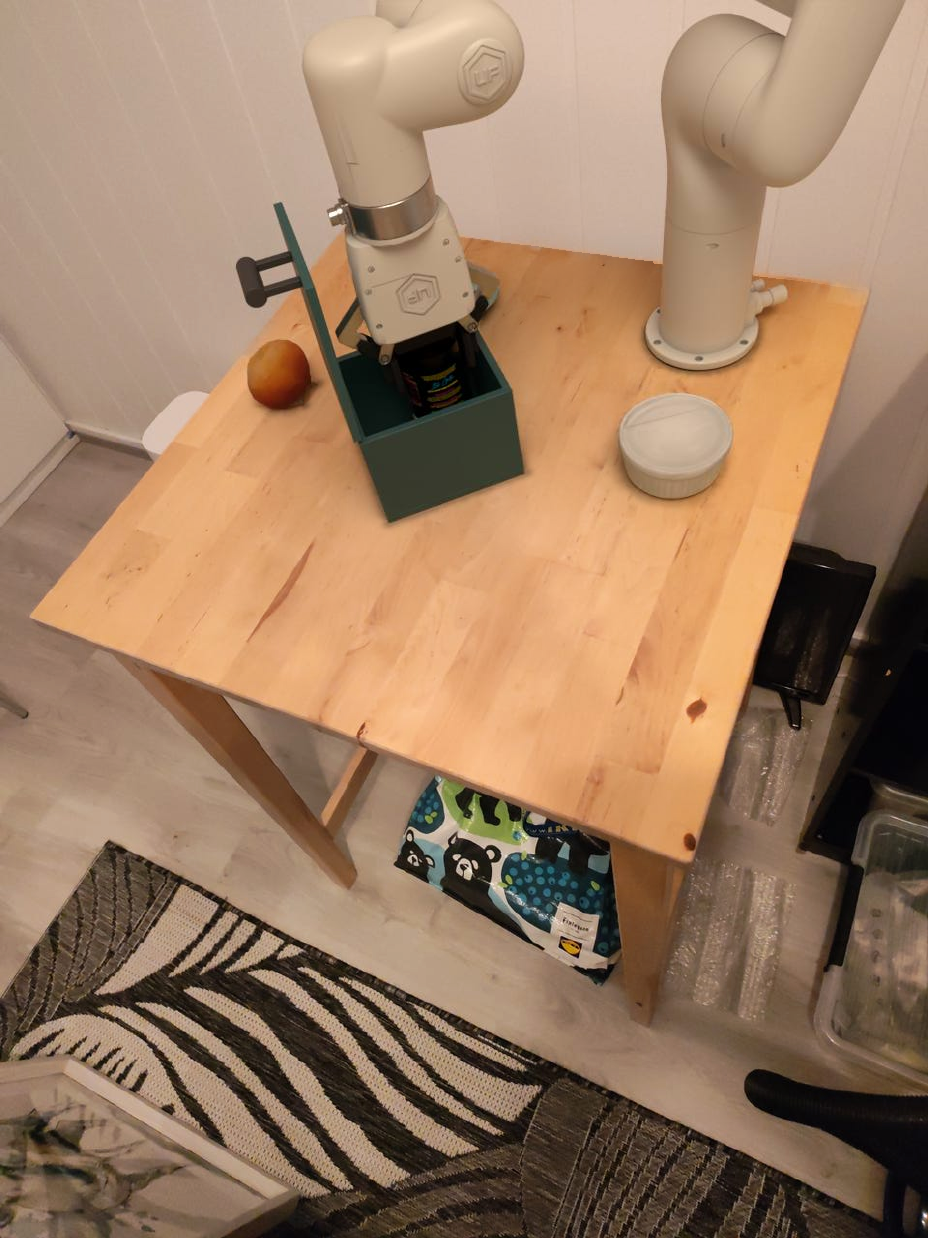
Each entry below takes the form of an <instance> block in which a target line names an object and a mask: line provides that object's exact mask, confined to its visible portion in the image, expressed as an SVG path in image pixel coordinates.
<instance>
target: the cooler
mask: <svg viewBox="0 0 928 1238" xmlns="http://www.w3.org/2000/svg"><path fill="white" fill-rule="evenodd" d="M475 334H476V339H477V344H478V350H479V352H477V353H475V354H474V357H475V362H476V367H473V368H471V367H468V365H467V363H466V366H467V371H468V375H469V380H470V385H471V390H472V394H473V399H470V400H467V401H465V402H462V403H459V404H456V405H454V406H451V407H448V408H445V409H442V410H440V411H437V412H434V413H431V414H429V415H426V416H423V417H420V418H418V419H415V420H414V417H413V414H412V411H411V408H410V404H409V401H408V398H407V394H406V391H405V393H403V394H400V393H399V391H398V388H397V386H396V384H395V383H394V384H391V385H389V384H388V381H387V379H386V376H385V373H384V370H383V367H382V364H380V362H379V360H377V359H374V358H371V357H369V356H366V355H363V354H361V353H359V351H358V350H356V349H355V350H354V351H351V352H348V353H346V354H343V355H342V354H341V355H340V356H336V357H337V360H338V364H339V367H340V370H341V373H342V377H343V380H344V383H345V387H346V390H347V393H348V396H349V400H350V403H351V406H352V409H353V413H354V416H355V419H356V422H357V426H358V429H359V432H360V436H361V439H362V441H359V442H357V443H358V446H359V448H360V452H361V454H362V457H363V459H364V461H365V464H366V466H367V469H368V472H369V474H370V477H371V480H372V483H373V485H374V488H375V490H376V493H377V496H378V499H379V501H380V504H381V507H382V509H383V512H384V514H385V517H386V520H387V522H388V524H390V523H393V522H396V521H398V520H402V519H405V518H407V517H410V516H413V515H415V514H418V513H421V512H424V511H426V510H429V509H433V508H434V507H437V506H439V505H442V504H445V503H448V502H450V501H453V500H456V499H459V498H462V497H464V496H467V495H470V494H472V493H475V492H477V491H480V490H483V489H486V488H489V487H491V486H494V485H497V484H499V483H503V482H505V481H508V480H510V479H514V478H516V477H519V476H522V475H524V474H525V468H524V463H523V454H522V448H521V440H520V433H519V426H518V419H517V413H516V404H515V398H514V390H513V388H512V387H511V385H510V384H509V381H508V379H507V378H506V376H505V375H504V373H503V372H502V368H501V367H500V366H499V364H498V362H497V360H496V358H495V356H494V355H493V354H492V351H491V349H490V348H489V346H488V344H487V343H486V341H485V339H484V338H483V336H482V334H481V332H480V330H479V327H478V328H477V330H476V331H475Z"/></svg>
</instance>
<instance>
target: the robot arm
mask: <svg viewBox="0 0 928 1238" xmlns="http://www.w3.org/2000/svg"><path fill="white" fill-rule="evenodd" d="M754 1H756V2H758V3H759V4H761V5H763V6H766V7H767V8H769V9H771V10H773V11H775V12H777V13H779V14H781V15H784V16H785V17H787V18H789V19H791V20H790V22H789V25H788V29H787V31H786V34H785V35H784V34H782V33H780V32H778V31H776V30H774V29H772V28H770V27H768V26H766V25H764V24H763V23H760V22H758V21H757V20H754V19H751V18H749V17H746V16H743V15H739V14H733V13H716V14H712V15H709V16H706V17H704V18H702V19H700V20H698V21H696V22H695V23H694V24H693V25H691V26H690V27H688V28H687V29H686V30H685V31H684V32H683V34H682V35H681V36H680V37H679V39H678V40H677V41H676V42H675V45H674V46H673V48H672V50H671V51H670V54H669V55H668V58H667V60H666V63H665V66H664V71H663V75H662V79H661V89H660V108H661V111H660V113H661V122H662V129H663V136H664V145H665V153H666V154H665V155H666V193H665V194H666V195H665V210H664V226H663V227H664V229H663V245H662V264H661V265H662V267H661V283H660V285H661V286H660V301H659V302H660V303H659V304H660V305H659V306H658V307H656V308H655V309H654V310H653V311H652V312H651V314H650V315H649V317H648V319H647V321H646V324H645V330H644V331H645V341H646V345H647V348H648V349H649V350H650V352H651V353H652V354H653V355H654V356H655V357H656V358H657V359H659V360H660V361H662V362H663V363H665V364H668V365H670V366H671V367H672V366H673V367H675V368H679V369H683V370H692V371H707V370H714V369H719V368H723V367H726V366H729V365H731V364H733V363H735V362H738V361H739V360H741V359H742V358H744V356H746V355H747V354H748V353H749V352H750V351H752V349H753V347H754V346H755V344H756V342H757V339H758V334H759V327H760V326H759V319H758V317H757V316H756V315H759V314H761V313H762V312H763V310H764V309H765V308H767V307H773V306H776V305H779V304H781V303H784V302H786V301H787V300H788V295H789V294H788V290H787V287H786V285H784V284H777V285H775V286H773V287H770V288H767V289H765V288H766V284H765V281H764V279H763V278H758V279H755V280H753V275H754V271H755V262H756V257H757V251H758V244H759V237H760V231H761V227H762V226H761V225H762V221H763V220H762V219H763V213H764V208H765V202H766V195H767V187H769V188H776V189H779V188H780V189H781V188H787V187H791V186H794V185H796V184H798V183H800V182H801V181H803V180H804V179H806V178H807V177H809V176H810V175H811V174H812V173H813V172H814V171H815V170H816V169H817V168H819V166H821V164H822V163H823V161H825V159H826V158H827V157H828V155H829V154H830V153H831V151H832V149H834V147H835V145H836V143H837V142H838V140H839V139H840V136H841V135H842V133H843V131H844V129H845V128H846V126H847V124H848V122H849V119H850V117H851V115H852V114H853V112H854V109H855V108H856V105H857V103H858V101H859V99H860V97H861V96H862V93H863V91H864V89H865V87H866V84H867V83H868V80H869V79H870V76H871V74H872V72H873V70H874V68H875V66H876V64H877V62H878V60H879V58H880V56H881V54H882V51H883V50H884V47H885V45H886V42H887V41H888V39H889V37H890V34H891V33H892V30H893V28H894V26H895V24H896V22H897V20H898V18H899V16H900V14H901V12H902V10H903V8H904V6H905V3H906V1H907V0H754ZM375 4H376V5H375V15H355V16H350V17H345V18H342V19H339V20H336V21H334V22H331V23H330V24H327V25H326V26H324V27H322V28H320V29H319V30H318V31H316V32H315V33H314V34H313V35H312V36H310V38H309V39H308V40H307V42H306V44H305V46H304V47H303V51H302V55H301V68H302V69H301V70H302V74H303V77H304V81H305V82H304V83H305V85H306V89H307V91H308V95H309V97H310V101H311V105H312V108H313V111H314V114H315V117H316V121H317V124H318V127H319V130H320V133H321V136H322V140H323V143H324V146H325V149H326V153H327V156H328V159H329V163H330V166H331V169H332V172H333V176H334V178H335V179H334V180H335V182H336V186H337V188H338V189H337V192H338V195H339V198H337V202H338V203H336V204H334V206H332V207H329V208H327V209H326V214H327V216H328V219H329V222H330V224H331V226H332V228H333V227H336V226H339V225H341V226H344V225H345V226H344V230H343V231H344V242H345V251H346V255H347V262H348V267H349V268H348V269H349V273H350V278H351V281H352V286H353V289H354V293H355V298H354V300H353V302H352V303H351V304H350V306H349V308H348V309H347V311H346V312H345V314H344V316H342V317H343V318H342V319H341V320H340V322H339V323H338V325H337V327H336V329H335V332H334V333H335V336H336V339H337V341H338V343H340V344H341V345H344V346H345V347H348V348H350V349H353V350H355V351H356V350H358V351H359V353H361V354H363V355H366V356H369V357H371V358H374V359H377V360H379V362H380V364H382V367H383V370H384V373H385V376H386V379H387V381H388V384H389V385H391V384H394V383H395V384H396V386H397V388H398V391H399V393H400V394H403V393H405V391H406V388H405V384H404V381H403V378H402V374H401V371H400V368H399V364H398V361H397V359H396V357H395V355H394V352H393V348H394V344H395V343H398V342H401V341H404V340H407V339H410V338H413V337H415V336H418V335H421V334H424V333H426V332H429V331H432V330H434V329H437V328H440V327H442V326H445V325H448V324H450V323H453V322H456V323H457V325H458V327H459V331H460V336H461V340H462V347H463V352H464V357H465V361H466V363H467V365H468V367H471V368H473V367H476V362H475V357H474V354H475V353H477V352H479V350H478V344H477V339H476V334H475V331H476V330H477V328H478V329H479V321H480V319H481V318H482V317H483V315H484V313H486V311H487V310H488V309H487V307H488V305H489V303H488V301H489V300H490V299H491V298H492V296H493V295H494V293H495V291H496V289H497V288H498V286H499V287H500V283H501V282H500V281H501V280H500V278H498V275H497V274H496V273H495V272H494V271H493V270H490V269H487V268H485V267H484V266H483V267H482V266H481V265H478V264H475V263H473V262H472V261H471V262H470V261H468V260H467V259H466V256H465V255H466V254H465V252H464V247H463V245H462V241H461V238H460V234H459V232H458V231H459V230H458V228H457V225H456V223H455V220H454V217H453V215H452V212H451V211H450V208H449V206H448V203H446V202H445V201H444V200H443V199H442V197H441V196H440V195H438V194H436V190H435V186H434V180H433V176H432V171H431V166H430V162H429V157H428V151H427V146H426V142H425V137H424V132H426V131H430V130H431V131H432V130H436V129H440V128H446V127H452V126H457V125H463V124H467V123H471V122H474V121H478V120H481V119H483V118H486V117H488V116H491V115H492V114H494V113H495V112H497V111H499V110H500V109H502V107H504V105H506V103H508V101H509V100H510V99H511V98H512V97H513V95H514V94H515V92H516V91H517V89H518V87H519V85H520V82H521V79H522V76H523V73H524V68H525V59H526V58H525V47H524V41H523V38H522V34H521V33H520V31H519V28H518V26H517V24H516V22H515V21H514V19H513V18H512V17H511V16H510V14H508V13H507V12H506V10H504V9H503V8H502V7H501V6H500V4H498V3H496V2H495V1H494V0H376V3H375ZM472 283H474V284H477V285H478V287H477V290H476V291H473V287H472ZM464 294H465V295H464ZM486 309H487V310H486ZM485 310H486V311H485ZM363 322H364V323H365V324H366V329H367V330H368V333H369V334H366V333H362V332H359V331H358V330H359V328H360V327H361V325H362V324H363Z"/></svg>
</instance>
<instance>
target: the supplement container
mask: <svg viewBox="0 0 928 1238" xmlns="http://www.w3.org/2000/svg"><path fill="white" fill-rule="evenodd" d="M393 352H394V355H395V357H396V359H397V361H398V364H399V368H400V371H401V374H402V378H403V381H404V384H405V388H406V394H407V398H408V401H409V404H410V408H411V411H412V414H413V417H414V420H415V419H418V418H420V417H423V416H426V415H429V414H431V413H434V412H437V411H440V410H442V409H445V408H448V407H451V406H454V405H456V404H459V403H462V402H465V401H467V400H470V399H473V394H472V390H471V385H470V380H469V375H468V371H467V366H466V361H465V357H464V352H463V347H462V340H461V336H460V331H459V327H458V325H457V323H456V322H453V323H450V324H448V325H445V326H442V327H440V328H437V329H434V330H432V331H429V332H426V333H424V334H421V335H418V336H415V337H413V338H410V339H407V340H404V341H401V342H398V343H395V344H394V348H393Z"/></svg>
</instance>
